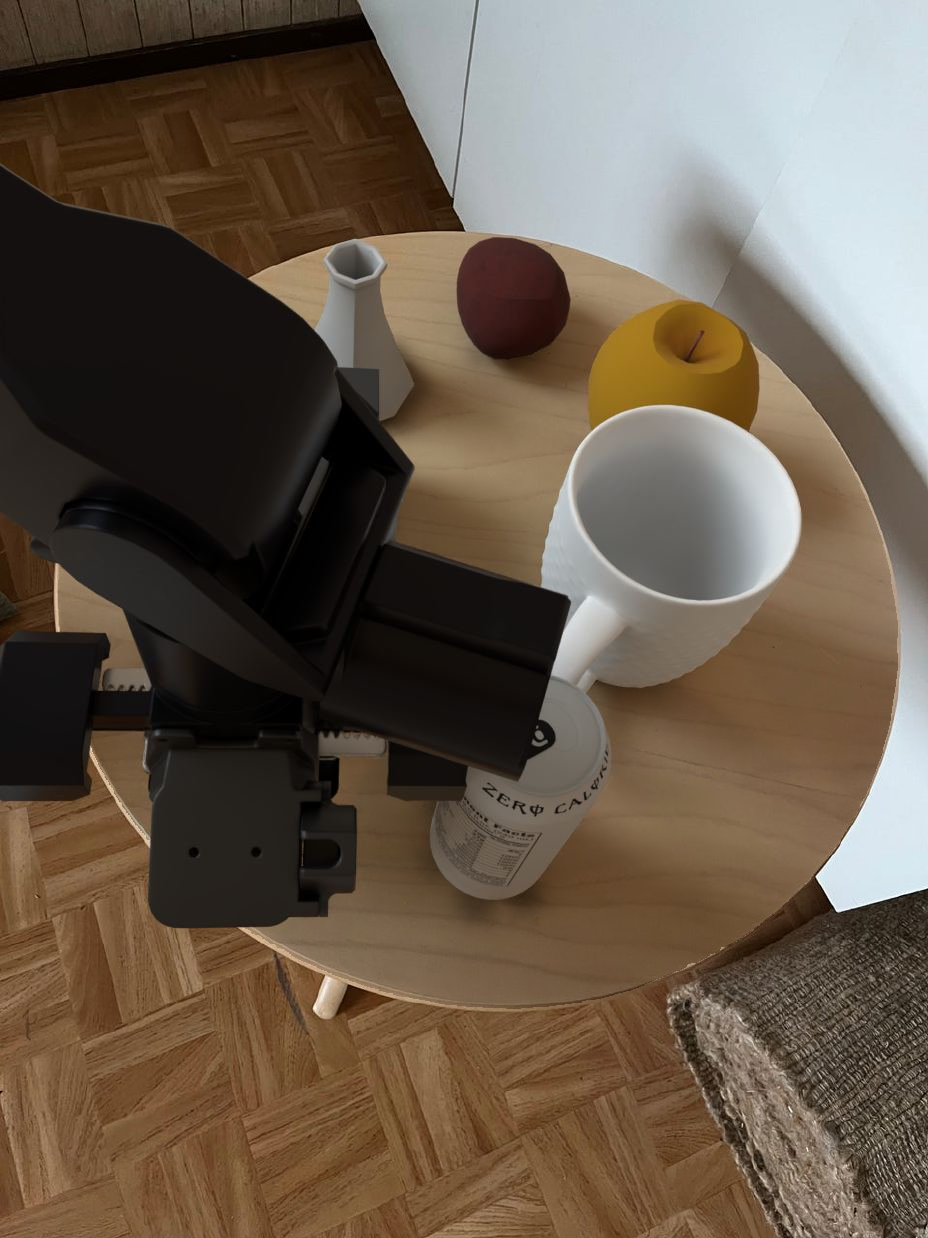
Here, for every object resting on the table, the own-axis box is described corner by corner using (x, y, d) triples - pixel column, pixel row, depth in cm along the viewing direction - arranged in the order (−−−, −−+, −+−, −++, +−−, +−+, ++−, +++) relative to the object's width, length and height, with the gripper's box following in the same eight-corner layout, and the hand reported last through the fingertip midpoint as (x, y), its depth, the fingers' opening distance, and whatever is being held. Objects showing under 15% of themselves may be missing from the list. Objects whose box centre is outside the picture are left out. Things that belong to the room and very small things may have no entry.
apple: (542, 415, 64) (582, 272, 53) (680, 388, 66) (744, 247, 56) (599, 543, 60) (654, 416, 49) (743, 510, 62) (825, 382, 52)
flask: (269, 380, 63) (258, 254, 54) (353, 322, 66) (356, 194, 57) (351, 450, 61) (354, 332, 52) (434, 388, 64) (450, 265, 55)
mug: (610, 817, 52) (688, 721, 40) (438, 693, 54) (466, 569, 43) (745, 618, 58) (845, 486, 47) (587, 514, 61) (645, 364, 49)
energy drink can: (570, 866, 51) (654, 763, 37) (467, 927, 49) (517, 842, 35) (507, 765, 53) (565, 634, 39) (406, 820, 51) (431, 701, 37)
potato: (564, 295, 69) (583, 223, 64) (557, 388, 65) (577, 320, 60) (457, 277, 68) (467, 204, 63) (443, 371, 65) (453, 300, 59)
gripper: (-137, 884, 28) (17, 973, 42) (529, 877, 30) (467, 964, 44) (-56, 541, 33) (57, 721, 47) (508, 557, 35) (458, 724, 49)
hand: (259, 785), depth 47 cm, fingers closed, pressing on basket
